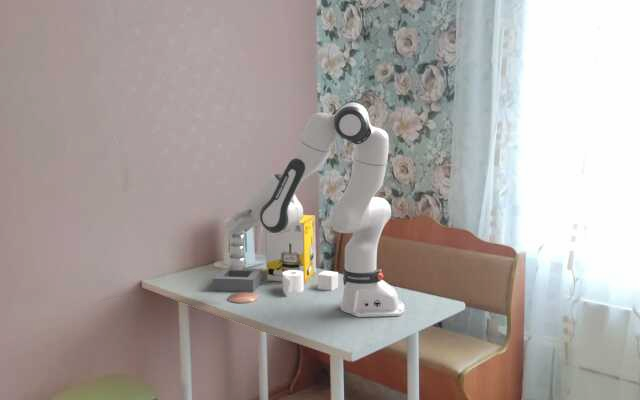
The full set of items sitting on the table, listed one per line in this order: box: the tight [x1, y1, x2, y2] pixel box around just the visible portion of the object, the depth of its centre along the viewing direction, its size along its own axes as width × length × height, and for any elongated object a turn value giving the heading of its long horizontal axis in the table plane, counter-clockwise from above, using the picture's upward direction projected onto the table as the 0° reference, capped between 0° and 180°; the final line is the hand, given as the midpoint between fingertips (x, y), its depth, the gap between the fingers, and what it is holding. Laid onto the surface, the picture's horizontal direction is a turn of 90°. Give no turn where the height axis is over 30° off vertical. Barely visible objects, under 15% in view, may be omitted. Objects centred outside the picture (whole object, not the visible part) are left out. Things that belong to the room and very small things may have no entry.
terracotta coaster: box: [228, 292, 259, 304], centre depth 212 cm, size 11×11×1 cm
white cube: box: [317, 270, 339, 292], centre depth 224 cm, size 6×6×6 cm
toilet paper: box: [281, 270, 305, 297], centre depth 220 cm, size 8×11×7 cm
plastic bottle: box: [227, 215, 247, 270], centre depth 209 cm, size 6×7×20 cm
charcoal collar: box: [212, 267, 263, 293], centre depth 227 cm, size 16×15×5 cm
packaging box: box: [265, 214, 317, 284], centre depth 238 cm, size 16×16×25 cm
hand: (235, 233), depth 209 cm, fingers closed on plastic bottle, 6 cm apart
